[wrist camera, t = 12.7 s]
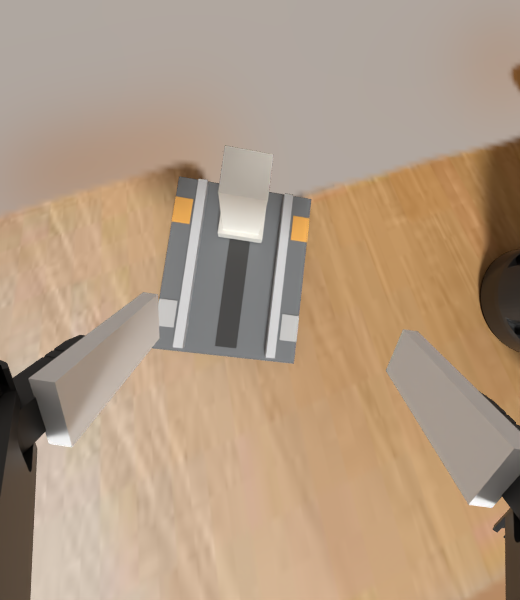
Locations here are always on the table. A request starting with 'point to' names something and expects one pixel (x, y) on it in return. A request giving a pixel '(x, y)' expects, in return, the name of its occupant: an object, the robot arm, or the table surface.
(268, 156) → the switch slider
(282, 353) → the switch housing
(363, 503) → the table surface
